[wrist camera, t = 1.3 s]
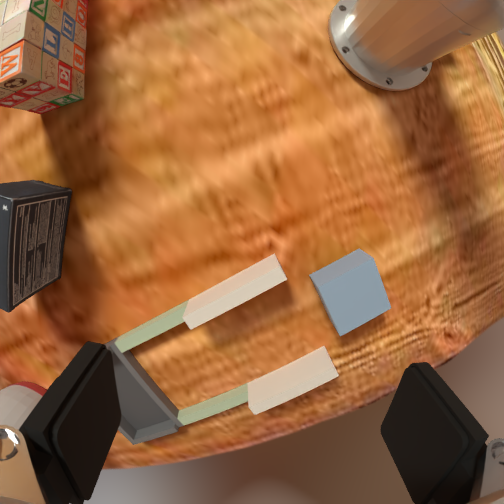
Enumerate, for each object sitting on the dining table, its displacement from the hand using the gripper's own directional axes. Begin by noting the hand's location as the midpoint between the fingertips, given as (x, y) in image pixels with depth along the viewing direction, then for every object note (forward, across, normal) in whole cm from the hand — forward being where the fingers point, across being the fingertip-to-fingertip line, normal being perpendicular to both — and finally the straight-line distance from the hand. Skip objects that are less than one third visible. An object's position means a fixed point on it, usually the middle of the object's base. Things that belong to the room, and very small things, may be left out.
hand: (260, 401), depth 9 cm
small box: (+23, +23, +1) cm, 33 cm away
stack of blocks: (+24, +24, -23) cm, 41 cm away
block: (+24, -11, +4) cm, 26 cm away
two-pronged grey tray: (+23, +5, +15) cm, 28 cm away
